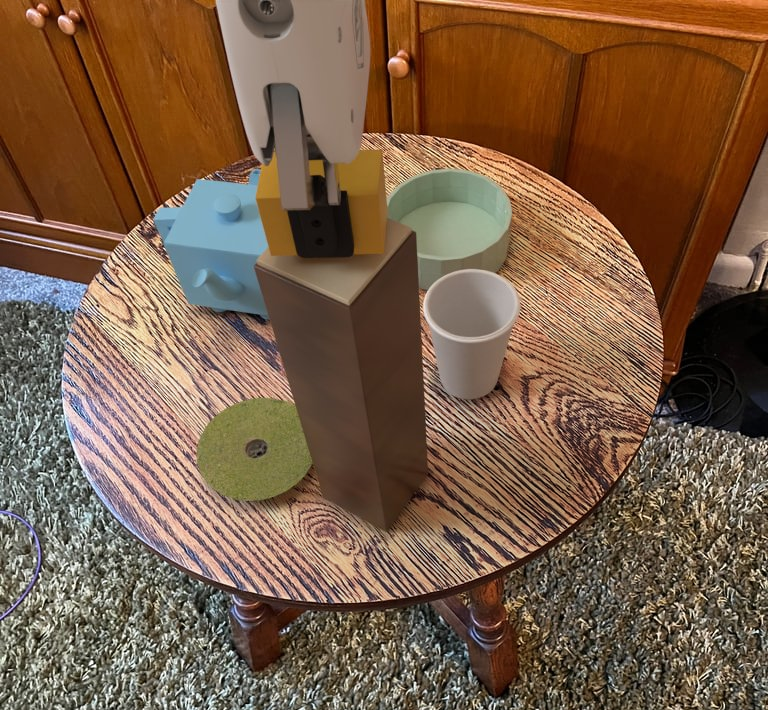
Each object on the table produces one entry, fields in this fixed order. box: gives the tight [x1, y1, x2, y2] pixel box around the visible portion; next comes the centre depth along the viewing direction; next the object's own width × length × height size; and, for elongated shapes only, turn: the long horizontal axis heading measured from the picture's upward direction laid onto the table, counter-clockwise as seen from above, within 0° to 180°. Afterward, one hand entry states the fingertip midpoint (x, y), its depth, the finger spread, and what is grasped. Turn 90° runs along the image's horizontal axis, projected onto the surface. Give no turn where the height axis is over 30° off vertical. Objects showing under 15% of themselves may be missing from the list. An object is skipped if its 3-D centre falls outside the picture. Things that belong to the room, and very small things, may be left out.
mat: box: [195, 397, 313, 502], centre depth 72 cm, size 11×11×2 cm
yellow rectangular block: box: [255, 149, 388, 256], centre depth 43 cm, size 6×4×4 cm, turn 87°
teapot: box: [152, 168, 270, 320], centre depth 78 cm, size 16×18×11 cm
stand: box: [254, 218, 429, 533], centre depth 58 cm, size 7×7×28 cm
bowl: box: [386, 167, 513, 291], centre depth 82 cm, size 13×13×4 cm
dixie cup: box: [422, 269, 521, 400], centre depth 71 cm, size 8×8×10 cm
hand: (329, 223), depth 44 cm, fingers closed on yellow rectangular block, 3 cm apart
